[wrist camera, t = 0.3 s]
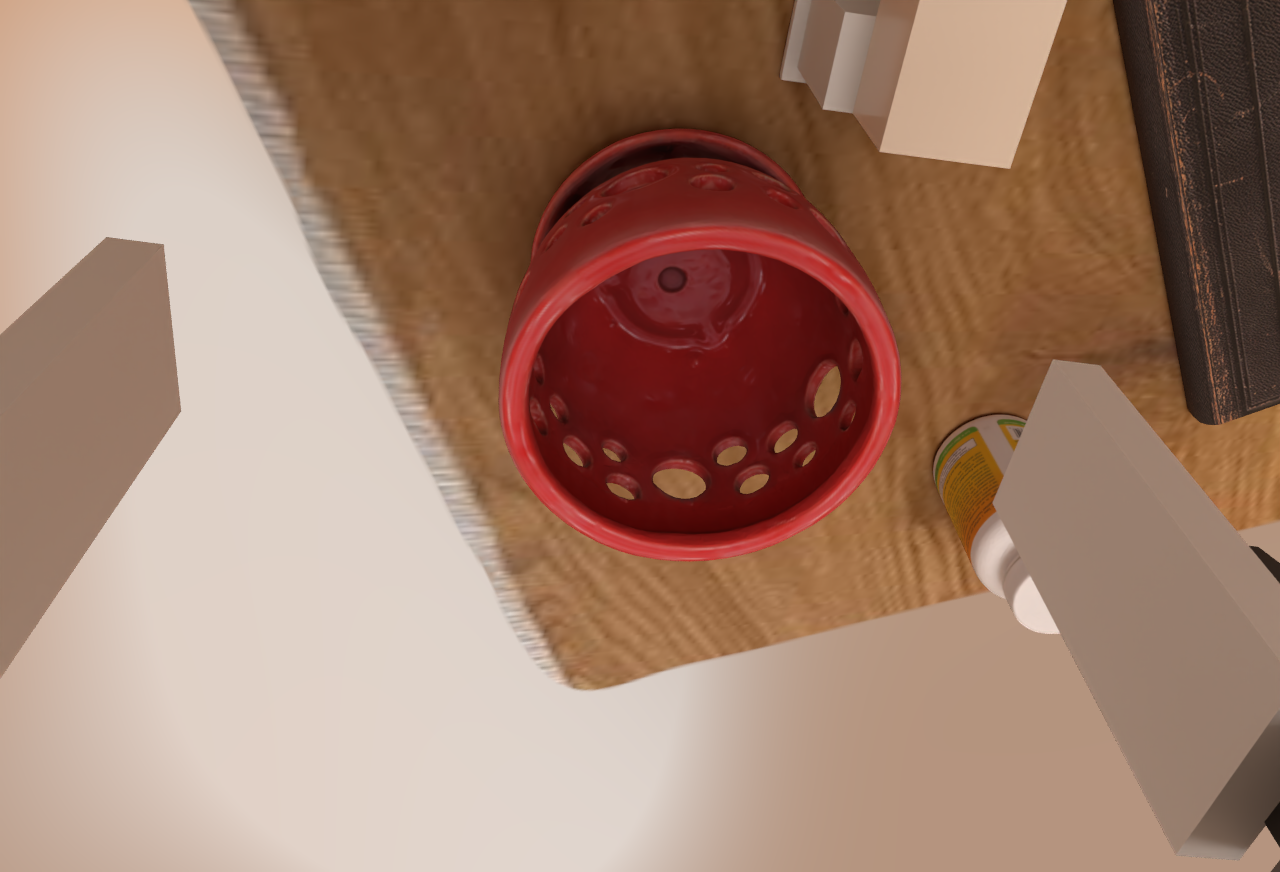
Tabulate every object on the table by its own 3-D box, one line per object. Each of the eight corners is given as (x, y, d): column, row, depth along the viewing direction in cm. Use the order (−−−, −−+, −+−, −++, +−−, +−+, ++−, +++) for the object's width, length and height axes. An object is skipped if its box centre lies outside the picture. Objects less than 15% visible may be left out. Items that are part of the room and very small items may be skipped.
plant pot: (480, 340, 44) (442, 507, 34) (593, 48, 38) (586, 149, 28) (750, 436, 47) (786, 615, 37) (897, 181, 41) (989, 316, 31)
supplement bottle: (938, 516, 50) (1001, 660, 42) (922, 428, 47) (987, 565, 39) (1050, 489, 49) (1136, 631, 41) (1040, 398, 47) (1131, 531, 38)
